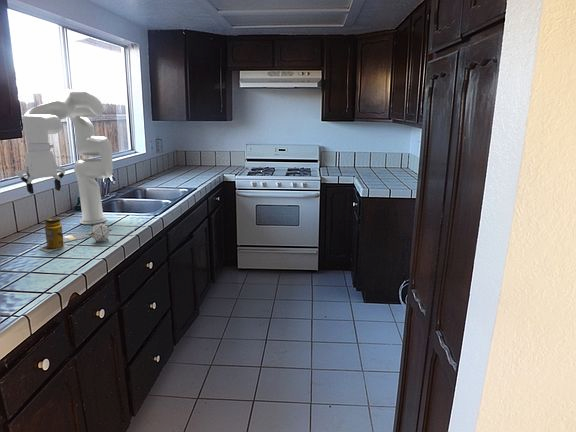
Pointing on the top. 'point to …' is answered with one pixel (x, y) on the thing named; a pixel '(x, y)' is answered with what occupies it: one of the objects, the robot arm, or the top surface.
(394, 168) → the top surface
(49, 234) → the condiment
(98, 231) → the game die
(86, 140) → the robot arm
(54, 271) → the top surface
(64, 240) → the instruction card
